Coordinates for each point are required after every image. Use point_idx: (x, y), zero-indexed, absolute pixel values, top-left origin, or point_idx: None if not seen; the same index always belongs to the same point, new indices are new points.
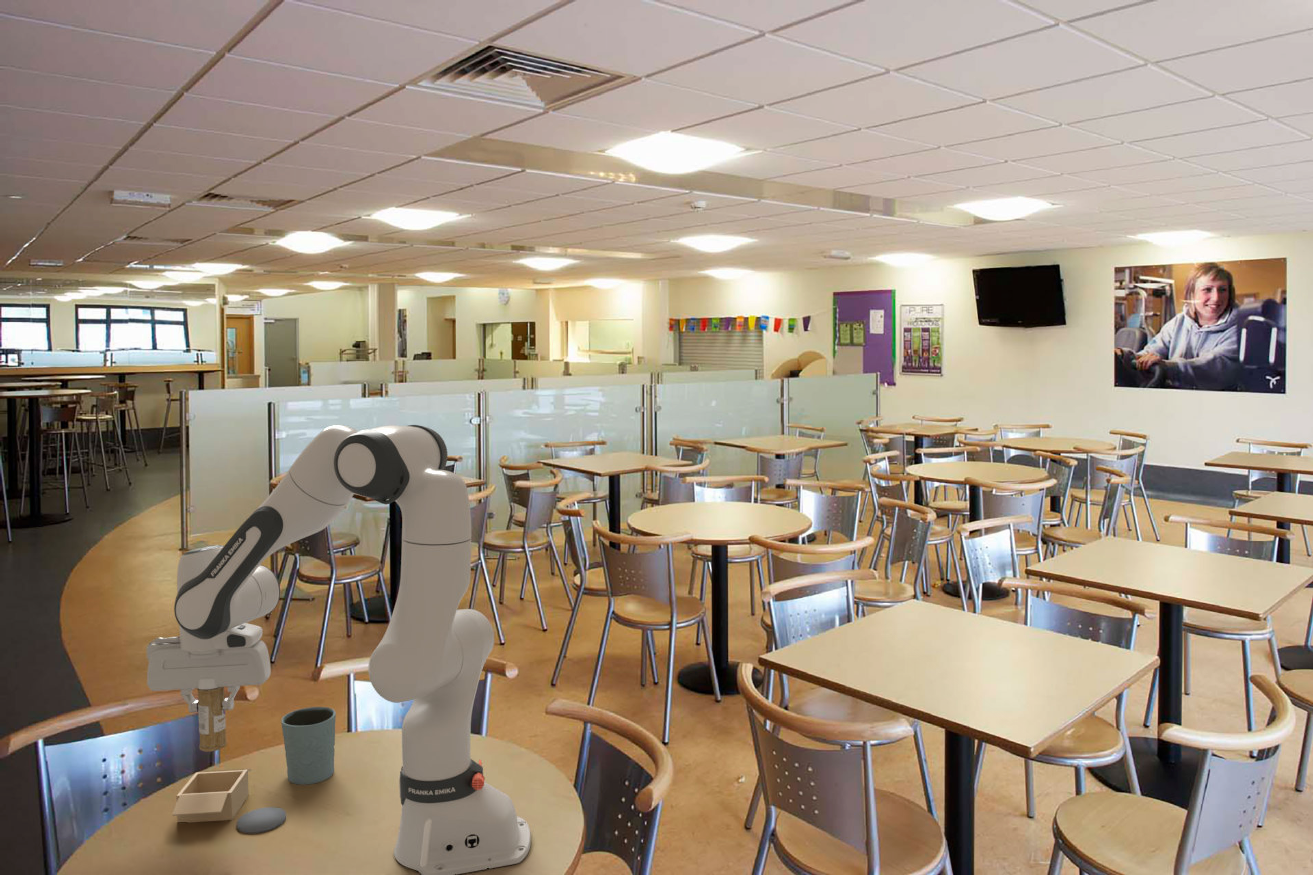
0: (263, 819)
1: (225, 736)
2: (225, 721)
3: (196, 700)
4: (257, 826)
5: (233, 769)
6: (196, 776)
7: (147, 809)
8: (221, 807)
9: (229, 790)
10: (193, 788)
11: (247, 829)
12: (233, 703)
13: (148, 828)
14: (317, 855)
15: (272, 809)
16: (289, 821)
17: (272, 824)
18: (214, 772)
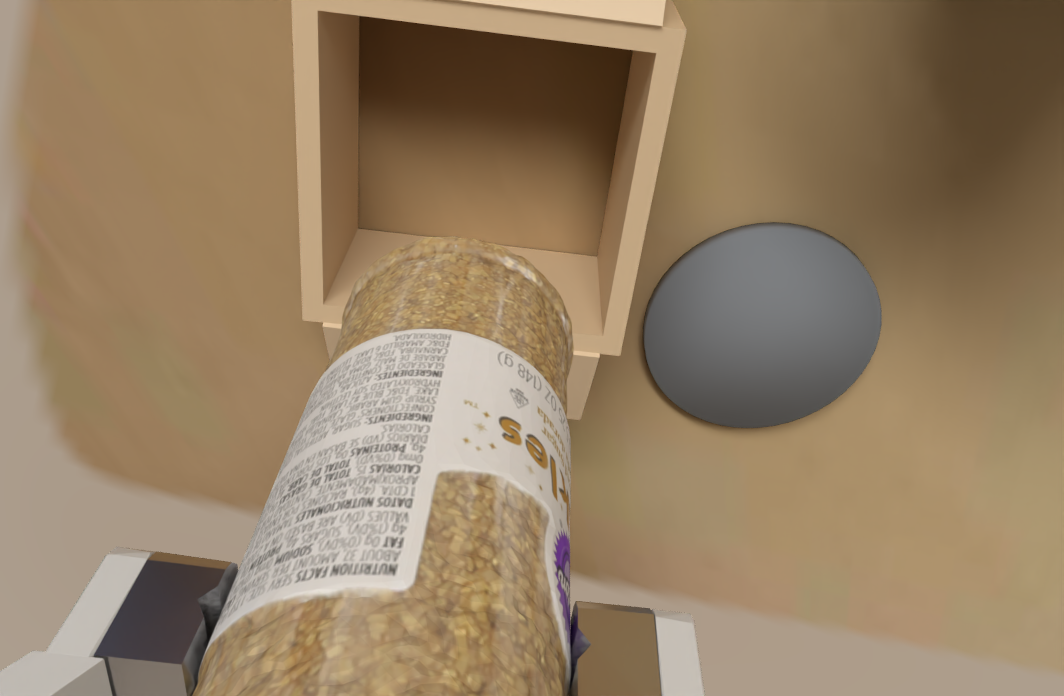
0: (770, 347)
1: (566, 381)
2: (567, 459)
3: (133, 673)
4: (744, 401)
5: (578, 17)
6: (319, 43)
7: (89, 32)
8: (579, 406)
9: (604, 325)
10: (334, 92)
11: (700, 414)
12: (692, 656)
13: (213, 259)
14: (963, 605)
15: (815, 261)
16: (887, 355)
17: (811, 400)
18: (439, 19)
